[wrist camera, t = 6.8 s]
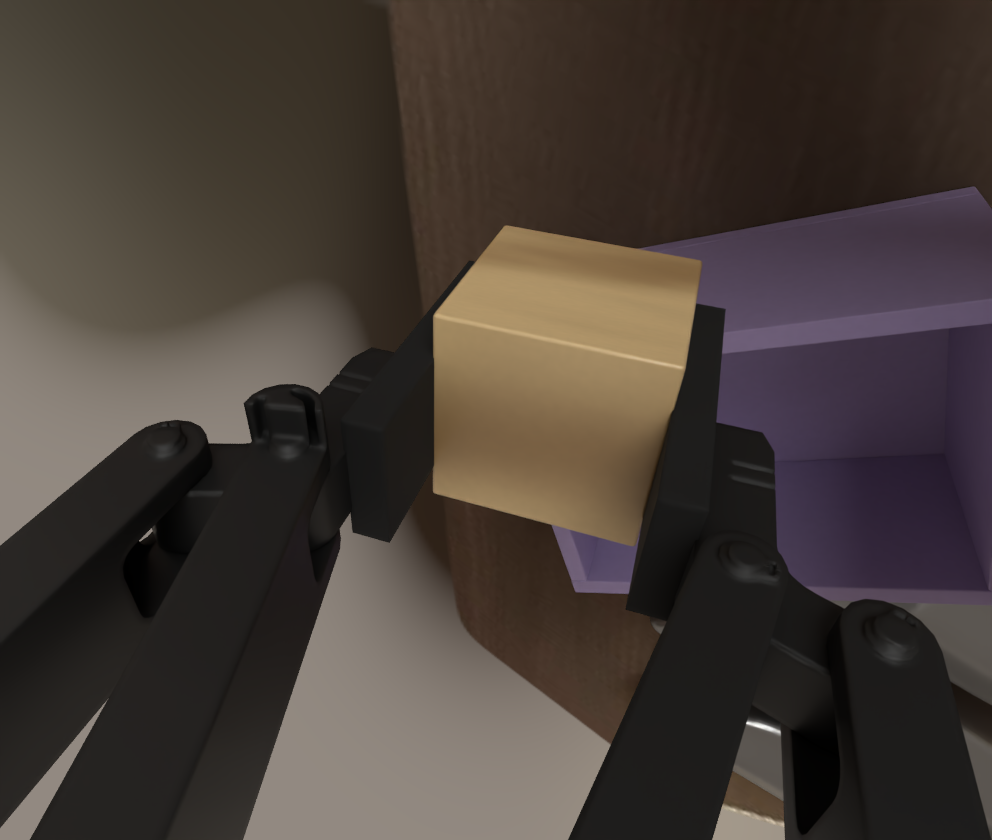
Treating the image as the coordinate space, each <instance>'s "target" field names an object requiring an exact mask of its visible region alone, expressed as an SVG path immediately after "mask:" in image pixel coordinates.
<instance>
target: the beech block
mask: <svg viewBox="0 0 992 840" xmlns="http://www.w3.org/2000/svg"><path fill="white" fill-rule="evenodd" d="M701 270H702V261H700V260H696V259H690V258H685V257H679V256H673V255H668V254H662V253H657V252H651V251H646V250H640V249H635V248H629V247H623V246H618V245H612V244H607V243H601V242H596V241H590V240H585V239H579V238H573V237H568V236H562V235H557V234H551V233H546V232H540V231H535V230H529V229H523V228H518V227H512V226H504V227H503V228H502V229H501V231H500V232H499V233H498V234H497V236H496V237H495V238H494V239H493V241H492V242H491V243H490V244H489V246H488V247H487V248H486V250H485V251H484V252H483V253H482V255H481V256H480V257H479V258H478V260H477V261H476V262H475V263H474V265H473V266H472V267H471V268H470V270H469V271H468V272H467V273H466V275H465V276H464V277H463V278H462V280H461V281H460V282H459V283H458V285H457V286H456V287H455V288H454V290H453V291H452V292H451V293H450V295H449V296H448V297H447V298H446V300H445V301H444V302H443V303H442V305H441V306H440V307H439V308H438V310H437V311H436V312H435V313H434V315H433V358H434V467H433V492H434V493H435V494H439V495H442V496H446V497H450V498H453V499H457V500H461V501H464V502H468V503H472V504H476V505H479V506H483V507H487V508H491V509H494V510H498V511H502V512H505V513H509V514H513V515H517V516H520V517H524V518H528V519H532V520H535V521H539V522H543V523H546V524H550V525H554V526H558V527H561V528H565V529H569V530H573V531H576V532H580V533H584V534H587V535H591V536H595V537H599V538H602V539H606V540H610V541H614V542H617V543H621V544H625V545H628V546H635V545H636V544H637V540H638V536H639V533H640V529H641V526H642V521H643V516H644V512H645V509H646V505H647V502H648V498H649V494H650V491H651V487H652V483H653V480H654V476H655V473H656V469H657V465H658V462H659V458H660V454H661V451H662V447H663V444H664V440H665V436H666V433H667V429H668V425H669V422H670V418H671V415H672V411H673V410H674V409H675V405H676V401H677V398H678V394H679V391H680V387H681V384H682V380H683V377H684V373H685V369H686V363H687V357H688V351H689V345H690V338H691V332H692V326H693V320H694V314H695V307H696V301H697V295H698V289H699V283H700V276H701Z"/></svg>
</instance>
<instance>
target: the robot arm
mask: <svg viewBox="0 0 992 840" xmlns="http://www.w3.org/2000/svg"><path fill="white" fill-rule="evenodd" d="M474 263H475V262H474V261H469V262H468V263H467V264H466V265H465V267H464V268H463V269H462V270H461V272H460V273H459V274H458V275H457V277H456V278H455V279H454V280H453V281H452V283H451V284H450V285H449V286H448V288H447V289H446V290H445V291H444V293H443V294H442V295H441V296H440V298H439V299H438V300H437V301H436V302H435V304H434V305H433V306H432V307H431V309H430V310H429V311H428V312H427V314H426V315H425V316H424V317H423V318H422V320H421V321H420V322H419V323H418V325H417V326H416V327H415V328H414V330H413V331H412V332H411V333H410V335H409V336H408V337H407V339H406V340H405V341H404V342H403V343H402V344H401V346H400V347H399V348H398V349H397V351H396V352H395V353H394V352H390V351H385V350H381V349H376V348H370V349H368V350H366V351H365V352H362V353H361V354H359V355H357V356H355V357H353V358H352V359H351V360H350V361H349V362H348V363H347V364H346V365H345V367H344V368H343V369H342V370H341V371H340V374H339V375H338V374H337V376H336V377H335V378H334V379H333V380H332V381H331V382H330V385H329V386H327V387H326V388H325V389H324V390H323V391H322V392H321V394H318V393H317V392H315V391H314V390H312V389H311V388H309V387H305V386H300V385H296V384H284V385H276V386H272V387H268V388H264V389H262V390H260V391H258V392H257V393H255V394H253V395H252V396H251V397H249V399H248V400H247V401H246V402H245V403H244V407H245V411H246V415H247V420H248V425H249V429H250V434H251V439H252V442H251V443H247V444H209V443H208V440H207V436H206V434H205V432H204V430H203V429H202V428H201V427H200V426H198V425H196V424H194V423H192V422H189V421H180V420H173V421H165V422H160V423H157V424H154V425H151V426H148V427H145V428H144V429H142V430H141V431H139V432H137V433H136V434H134V435H133V436H132V437H130V438H129V439H128V440H127V441H126V442H124V443H123V444H122V445H121V446H120V447H118V448H117V449H116V450H115V451H114V452H112V453H111V454H110V455H109V456H108V457H107V458H105V459H104V460H103V461H102V462H101V463H99V464H98V465H97V466H96V467H95V468H93V469H92V470H91V471H90V472H88V473H87V474H86V475H85V476H84V477H82V478H81V479H80V480H79V481H78V482H76V483H75V484H74V485H73V486H72V487H70V488H69V489H68V490H67V491H66V492H64V493H63V494H62V495H61V496H60V497H58V498H57V499H56V500H55V501H54V502H52V503H51V504H50V505H49V506H47V507H46V508H45V509H44V510H43V511H41V512H40V513H39V514H38V515H37V516H35V517H34V518H33V519H32V520H31V521H30V522H28V523H27V524H26V525H25V526H23V527H22V528H21V529H20V530H19V531H17V532H16V533H15V534H14V535H13V536H11V537H10V538H9V539H8V540H7V541H5V542H4V543H3V544H2V545H1V546H0V827H1V826H2V825H3V824H4V823H5V822H6V820H7V819H8V818H9V817H10V816H11V814H12V813H13V812H14V811H15V809H16V808H17V807H18V806H19V805H20V803H21V802H22V801H23V800H24V799H25V797H26V796H27V795H28V794H29V793H30V791H31V790H32V789H33V788H34V787H35V785H36V784H37V783H38V782H39V781H40V780H41V778H42V777H43V776H44V775H45V774H46V772H47V771H48V770H49V769H50V768H51V766H52V765H53V764H54V763H55V762H56V760H57V759H58V758H59V757H60V756H61V754H62V753H63V752H64V751H65V750H66V748H67V747H68V746H69V745H70V744H71V742H72V741H73V740H74V739H75V738H76V736H77V735H78V734H79V733H80V732H81V730H82V729H83V728H84V727H85V726H86V724H87V723H88V722H89V721H90V720H91V718H92V717H93V716H94V715H95V714H96V713H97V711H98V710H99V709H100V708H101V707H102V705H103V704H104V703H105V702H106V701H107V702H106V704H105V706H104V708H103V709H102V711H101V713H100V715H99V717H98V718H97V720H96V722H95V724H94V726H93V727H92V729H91V731H90V733H89V735H88V736H87V738H86V740H85V742H84V743H83V745H82V747H81V749H80V751H79V753H78V754H77V756H76V758H75V760H74V761H73V763H72V765H71V767H70V769H69V771H68V772H67V774H66V776H65V778H64V780H63V781H62V783H61V785H60V787H59V788H58V790H57V792H56V794H55V796H54V797H53V799H52V801H51V803H50V804H49V806H48V808H47V810H46V812H45V813H44V815H43V817H42V819H41V821H40V823H39V824H38V826H37V828H36V830H35V832H34V833H33V835H32V837H31V839H30V840H243V838H244V835H245V832H246V829H247V826H248V823H249V820H250V817H251V814H252V811H253V808H254V805H255V802H256V799H257V796H258V793H259V790H260V787H261V784H262V781H263V778H264V775H265V772H266V769H267V766H268V763H269V760H270V757H271V754H272V751H273V748H274V745H275V742H276V739H277V736H278V733H279V730H280V727H281V724H282V721H283V718H284V715H285V712H286V709H287V706H288V703H289V700H290V697H291V694H292V691H293V688H294V685H295V682H296V679H297V676H298V673H299V670H300V667H301V664H302V661H303V658H304V655H305V652H306V649H307V646H308V643H309V640H310V637H311V634H312V631H313V628H314V625H315V622H316V619H317V616H318V613H319V610H320V607H321V604H322V601H323V598H324V594H325V592H326V589H327V586H328V583H329V580H330V577H331V574H332V571H333V568H334V564H335V562H336V559H337V556H338V553H339V550H340V541H341V537H340V527H341V525H342V524H343V522H344V521H345V519H346V518H347V517H348V515H349V514H350V512H351V521H352V530H353V532H354V533H357V534H361V535H364V536H368V537H371V538H375V539H378V540H382V541H385V542H390V541H391V539H392V538H393V536H394V534H395V532H396V530H397V529H398V527H399V525H400V524H401V522H402V520H403V518H404V517H405V515H406V513H407V512H408V510H409V508H410V506H411V505H412V503H413V501H414V499H415V498H416V496H417V494H418V492H419V491H420V489H421V487H422V486H423V484H424V482H425V480H426V479H427V477H428V475H429V473H430V472H431V470H432V468H433V467H434V358H433V315H434V313H435V312H436V311H437V310H438V308H439V307H440V306H441V305H442V303H443V302H444V301H445V300H446V298H447V297H448V296H449V295H450V293H451V292H452V291H453V290H454V288H455V287H456V286H457V285H458V283H459V282H460V281H461V280H462V278H463V277H464V276H465V275H466V273H467V272H468V271H469V270H470V268H471V267H472V266H473V265H474ZM725 312H726V309H724V308H718V307H713V306H708V305H703V304H697V303H696V307H695V314H694V320H693V326H692V332H691V338H690V345H689V351H688V357H687V363H686V369H685V373H684V377H683V380H682V384H681V387H680V391H679V394H678V398H677V401H676V405H675V409H674V410H673V411H672V415H671V418H670V422H669V425H668V429H667V433H666V436H665V440H664V444H663V447H662V451H661V454H660V458H659V462H658V465H657V469H656V473H655V476H654V480H653V483H652V487H651V491H650V494H649V498H648V502H647V505H646V509H645V512H644V516H643V521H642V526H641V531H640V536H639V542H638V547H637V552H636V557H635V563H634V568H633V573H632V578H631V584H630V589H629V594H628V600H627V605H626V610H629V611H633V612H636V613H640V614H643V615H647V616H650V617H654V618H657V619H661V620H664V621H667V622H666V624H665V626H664V629H663V631H662V633H661V635H660V637H659V640H658V642H657V644H656V646H655V648H654V651H653V653H652V655H651V657H650V660H649V662H648V664H647V666H646V668H645V671H644V673H643V675H642V677H641V679H640V682H639V684H638V686H637V688H636V691H635V693H634V695H633V697H632V699H631V702H630V704H629V706H628V708H627V710H626V713H625V715H624V717H623V719H622V722H621V724H620V726H619V728H618V730H617V733H616V735H615V737H614V739H613V741H612V744H611V746H610V748H609V750H608V753H607V755H606V757H605V759H604V762H603V764H602V766H601V768H600V770H599V772H598V775H597V777H596V779H595V781H594V784H593V786H592V788H591V790H590V793H589V795H588V797H587V799H586V801H585V804H584V806H583V808H582V810H581V812H580V815H579V817H578V819H577V821H576V824H575V826H574V828H573V830H572V832H571V835H570V837H569V839H568V840H712V838H713V835H714V831H715V828H716V824H717V821H718V818H719V814H720V811H721V807H722V804H723V801H724V797H725V794H726V791H727V787H728V784H729V780H730V777H731V774H732V770H733V767H734V763H735V760H736V757H737V753H738V750H739V746H740V743H741V740H742V736H743V733H744V730H745V726H746V723H747V719H748V716H749V713H750V709H751V706H752V705H753V706H755V707H757V708H758V709H760V710H761V711H763V712H765V713H766V714H768V715H769V716H771V717H773V718H774V719H776V720H777V721H779V722H780V726H781V751H782V775H783V800H784V824H785V840H991V836H990V832H989V828H988V824H987V821H986V817H985V813H984V809H983V805H982V801H981V798H980V794H979V790H978V786H977V782H976V778H975V775H974V771H973V767H972V763H971V759H970V756H969V752H968V748H967V744H966V740H965V736H964V733H963V729H962V725H961V721H960V717H959V713H958V710H957V706H956V702H955V698H954V694H953V690H952V687H951V683H950V679H949V675H948V671H947V668H946V664H945V660H944V656H943V652H942V650H941V648H940V646H939V644H938V642H937V640H936V638H935V635H934V634H933V633H932V632H931V631H930V630H929V629H928V628H927V627H926V626H925V625H924V624H923V622H922V621H921V620H919V619H918V618H916V617H915V616H913V615H912V614H910V613H909V612H908V611H906V610H905V609H903V608H901V607H898V606H896V605H893V604H891V603H888V602H885V601H882V600H873V599H862V600H858V601H855V602H851V603H850V604H849V605H848V606H847V607H846V608H845V609H844V608H842V607H841V606H839V605H837V604H835V603H833V602H831V601H829V600H827V599H825V598H823V597H821V596H819V595H818V594H816V593H814V592H813V591H811V590H809V589H808V588H806V587H805V586H803V585H802V584H801V583H800V582H798V581H797V580H796V579H795V578H794V577H793V576H792V575H791V574H790V573H789V571H788V567H787V565H786V563H785V561H784V559H783V557H782V555H781V554H780V553H779V552H778V548H777V526H776V490H775V475H774V472H775V453H774V450H773V449H772V447H771V445H770V444H769V442H768V440H767V439H766V437H765V435H764V434H763V433H762V432H758V431H753V430H749V429H744V428H740V427H735V426H731V425H726V424H722V423H717V422H716V420H717V408H718V396H719V384H720V372H721V360H722V348H723V336H724V324H725ZM151 528H152V530H153V532H152V533H151V534H150V535H149V536H148V537H146V538H145V539H143V540H142V541H141V542H139V540H140V539H141V538H142V537H143V536H144V535H145V534H146V533H147V532H148V531H149V530H150V529H151ZM108 698H109V699H108ZM107 699H108V700H107Z"/></svg>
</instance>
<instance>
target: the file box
mask: <svg viewBox="0 0 992 840" xmlns="http://www.w3.org/2000/svg"><path fill="white" fill-rule="evenodd" d="M638 249H640V250H646V251H651V252H657V253H662V254H668V255H673V256H679V257H685V258H690V259H696V260H700V261H702V270H701V276H700V283H699V289H698V295H697V301H696V303H697V304H703V305H708V306H713V307H718V308H724V309H726V312H725V324H724V336H723V348H722V360H721V372H720V384H719V396H718V408H717V420H716V422H717V423H722V424H726V425H731V426H735V427H740V428H744V429H749V430H753V431H758V432H762V433H763V434H764V435H765V437H766V439H767V440H768V442H769V444H770V445H771V447H772V449H773V450H774V453H775V472H774V475H775V490H776V526H777V548H778V552H779V553H780V554H781V555H782V557H783V559H784V561H785V563H786V565H787V567H788V571H789V573H790V574H791V575H792V576H793V577H794V578H795V579H796V580H797V581H798V582H800V583H801V584H802V585H803V586H805V587H806V588H808V589H809V590H811V591H813V592H814V593H816V594H818V595H819V596H821V597H823V598H825V599H827V600H834V601H858V600H862V599H873V600H882V601H885V602H897V603H928V604H959V605H991V606H992V209H991V207H990V206H989V205H988V203H987V202H986V201H985V199H984V198H983V196H982V195H981V194H980V193H979V191H978V190H977V189H976V187H974V186H973V187H968V188H962V189H957V190H951V191H946V192H941V193H935V194H930V195H924V196H919V197H914V198H908V199H903V200H897V201H892V202H887V203H881V204H876V205H870V206H865V207H860V208H854V209H849V210H843V211H838V212H833V213H827V214H822V215H816V216H811V217H806V218H800V219H795V220H790V221H784V222H779V223H773V224H768V225H763V226H757V227H752V228H746V229H741V230H736V231H730V232H725V233H719V234H714V235H709V236H703V237H698V238H692V239H687V240H682V241H676V242H671V243H665V244H660V245H655V246H649V247H644V248H638ZM552 528H553V530H554V533H555V536H556V539H557V542H558V544H559V547H560V550H561V553H562V555H563V558H564V561H565V564H566V567H567V569H568V572H569V575H570V578H571V580H572V584H573V587H574V589H575V592H584V593H615V594H629V589H630V584H631V578H632V573H633V568H634V563H635V557H636V552H637V547H638V542H639V536H640V533H639V536H638V540H637V544H636V545H635V546H628V545H625V544H621V543H617V542H614V541H610V540H606V539H602V538H599V537H595V536H591V535H587V534H584V533H580V532H576V531H573V530H569V529H565V528H561V527H558V526H554V525H552ZM640 531H641V529H640Z"/></svg>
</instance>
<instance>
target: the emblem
mask: <svg viewBox="0 0 992 840" xmlns="http://www.w3.org/2000/svg"><path fill="white" fill-rule="evenodd" d="M829 601H831V602H833V603H835V604H837V605H839V606H841V607H842V608H844V609H845V608H846V607H847V606H848V605H849V604H850V603H851V602H855V601H834V600H829ZM888 603H891V604H893V605H896V606H898V607H901V608H903V609H905V610H906V611H908V612H909V613H910V614H912V615H913V616H915V617H916V618H918V619H919V620H921V621H922V622H923V624H924V625H925V626H926V627H927V628H928V629H929V630H930V631H931V632H932V633H933V634H934V635H935V638H936V640H937V642H938V644H939V646H940V648H941V650H942V652H943V656H944V660H945V664H946V668H947V671H948V675H949V679H950V683H951V687H952V690H953V694H954V698H955V702H956V706H957V710H958V713H959V717H960V721H961V725H962V729H963V733H964V736H965V740H966V744H967V748H968V752H969V756H970V759H971V763H972V767H973V771H974V775H975V778H976V782H977V786H978V790H979V794H980V798H981V801H982V805H983V809H984V813H985V817H986V821H987V824H988V828H989V832H990V836H991V840H992V606H991V605H959V604H928V603H897V602H888ZM650 622H651V624H652V626H653V628H654V629H655V630H656V631H657V632H658V633H659V634H661V633H662V631H663V629H664V626H665V624H666V622H667V621H664V620H661V619H657V618H654V617H650ZM733 771H734V772H736V773H738V774H739V775H741V776H743V777H744V778H746V779H748V780H749V781H751V782H753V783H754V784H756V785H758V786H759V787H761V788H763V789H764V790H766V791H767V792H769V793H771V794H772V795H774V796H776V797H777V798H779V799H781V800H782V801H784V800H783V775H782V751H781V726H780V722H779V721H777V720H776V719H774V718H773V717H771V716H769V715H768V714H766V713H765V712H763V711H761V710H760V709H758V708H757V707H755V706H753V705H752V706H751V709H750V713H749V716H748V719H747V723H746V726H745V730H744V733H743V736H742V740H741V743H740V746H739V750H738V753H737V757H736V760H735V763H734V767H733Z"/></svg>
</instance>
